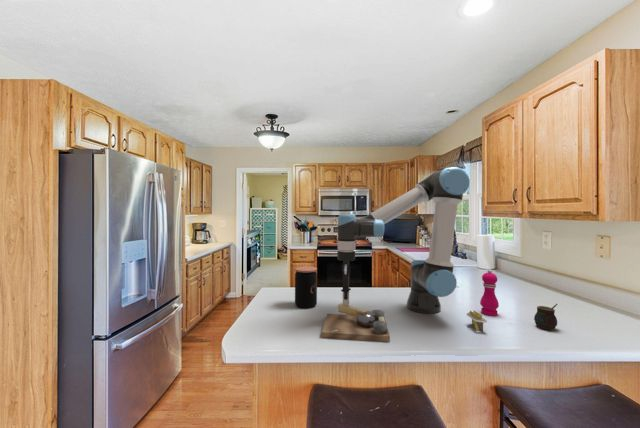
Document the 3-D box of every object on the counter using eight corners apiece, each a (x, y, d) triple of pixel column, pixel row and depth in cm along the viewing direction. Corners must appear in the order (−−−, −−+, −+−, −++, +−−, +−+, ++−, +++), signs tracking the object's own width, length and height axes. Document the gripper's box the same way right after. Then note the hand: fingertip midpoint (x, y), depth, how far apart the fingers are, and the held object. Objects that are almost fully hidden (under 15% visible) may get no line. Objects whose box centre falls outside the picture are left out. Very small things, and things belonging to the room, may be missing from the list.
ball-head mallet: (378, 323, 111) (378, 311, 111) (368, 328, 106) (368, 316, 106) (344, 313, 122) (344, 302, 122) (334, 317, 117) (334, 306, 117)
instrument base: (384, 321, 119) (384, 309, 119) (389, 342, 100) (389, 327, 100) (327, 318, 122) (327, 306, 122) (321, 337, 103) (321, 323, 103)
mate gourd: (529, 324, 117) (529, 299, 117) (548, 324, 117) (548, 300, 117) (542, 331, 110) (543, 305, 110) (562, 332, 110) (563, 306, 110)
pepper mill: (478, 313, 129) (478, 269, 129) (482, 309, 135) (482, 267, 134) (496, 317, 124) (497, 271, 124) (500, 313, 130) (500, 269, 130)
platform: (471, 338, 104) (471, 321, 104) (449, 320, 122) (450, 304, 122) (504, 339, 104) (505, 321, 104) (478, 320, 122) (478, 305, 122)
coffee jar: (314, 309, 133) (314, 271, 133) (292, 308, 135) (292, 270, 135) (318, 302, 143) (319, 266, 143) (298, 301, 145) (298, 265, 145)
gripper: (338, 248, 128) (338, 301, 128) (336, 252, 115) (335, 311, 116) (355, 249, 127) (354, 301, 127) (355, 253, 114) (354, 312, 114)
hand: (345, 306), depth 121 cm, fingers closed
